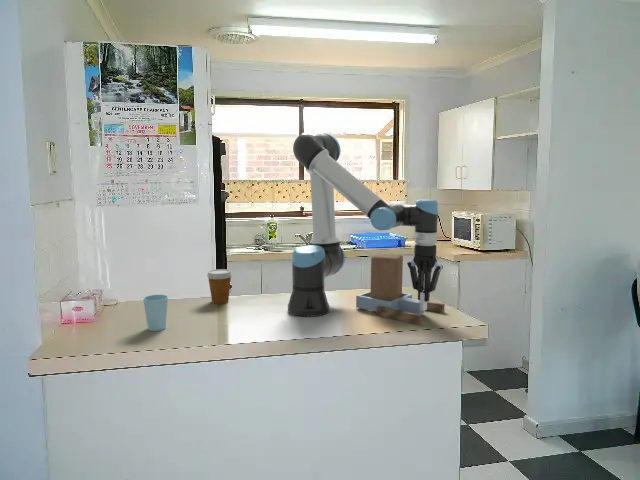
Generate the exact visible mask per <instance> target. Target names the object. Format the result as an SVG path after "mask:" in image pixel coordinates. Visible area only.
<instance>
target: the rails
mask: <svg viewBox="0 0 640 480" xmlns="http://www.w3.org/2000/svg"><path fill="white" fill-rule="evenodd" d="M412 299H417V300H418V298H414V297H412ZM445 307H446V306H445V303H443V302H442V303H441V302H436V301H431V300H429V301H428V302H427V310H426V311H430V312H431V311H432V312H436V313H442V314H443V313H445ZM375 314H376V316H379V317H383V318H388V319H393V320H397V321H402V322H407V323H411V324H417V325H421V324H422V314H416V313H411V312H406V311H401V310H396V309H391V308H386V307H381V306H377V307H376V312H375Z"/></svg>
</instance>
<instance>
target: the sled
mask: <svg viewBox="0 0 640 480" xmlns="http://www.w3.org/2000/svg"><path fill="white" fill-rule="evenodd" d="M370 293H371V290H370V291H369V290H368V291H366V292H364V293H360V294H357V295H356V296H355V299H356V300H355V301H356V302H355V308H358V309H362V310H367V311H372V312H375V313H376V307H377V306H381V307H386V308H391V309H396V310H401V311H406V312H411V313H416V314H421V315H424V314H425V311H420V300H417V299H418V298H415V299H412V298H413V293H406V292H402V297H401V298H398V299H395V300H393V301H385V300H380V299H375V298H370Z"/></svg>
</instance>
